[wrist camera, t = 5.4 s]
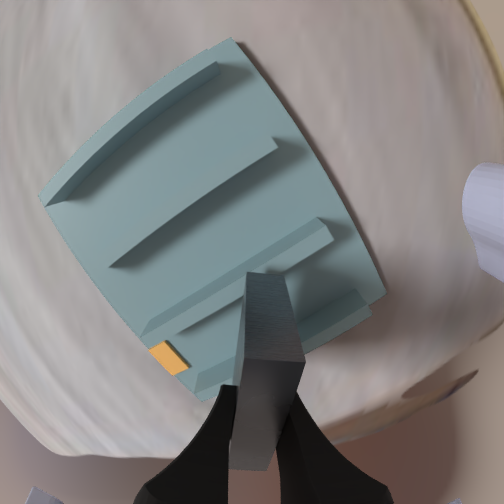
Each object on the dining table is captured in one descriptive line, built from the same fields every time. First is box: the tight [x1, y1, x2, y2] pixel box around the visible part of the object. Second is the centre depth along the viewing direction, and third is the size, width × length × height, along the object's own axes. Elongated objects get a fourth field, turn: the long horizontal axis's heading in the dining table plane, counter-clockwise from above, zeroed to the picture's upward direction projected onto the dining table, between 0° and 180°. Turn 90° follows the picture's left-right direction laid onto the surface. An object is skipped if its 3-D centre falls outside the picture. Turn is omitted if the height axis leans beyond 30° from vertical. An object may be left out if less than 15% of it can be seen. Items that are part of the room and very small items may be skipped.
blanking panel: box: [228, 272, 306, 471], centre depth 13 cm, size 2×8×7 cm, turn 173°
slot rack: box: [38, 37, 387, 402], centre depth 18 cm, size 21×18×3 cm
